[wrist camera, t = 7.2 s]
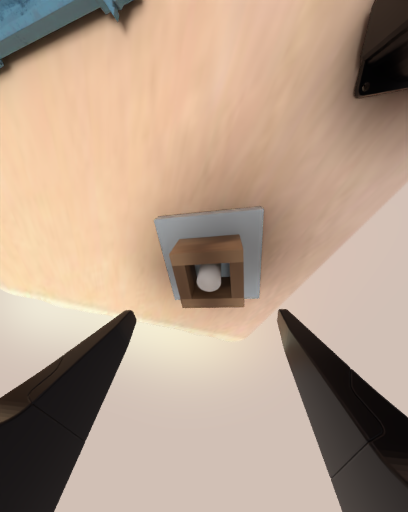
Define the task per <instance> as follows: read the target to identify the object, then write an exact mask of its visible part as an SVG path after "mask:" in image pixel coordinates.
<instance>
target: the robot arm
mask: <svg viewBox="0 0 408 512" xmlns="http://www.w3.org/2000/svg"><path fill="white" fill-rule="evenodd" d="M361 60H362V62H361V66H360V70H359V75H358V79H357V83H356V88H355V96H356V97H357V98H362V97H367V96H373V95H378V94H384V93H389V92H395V91H400V90H405V89H408V0H376V1H375V3H374V4H373V6H372V10H371V14H370V19H369V23H368V28H367V32H366V36H365V41H364V45H363V49H362V54H361ZM363 85H365V86H366V89H365V91H363V90H362V87H363ZM277 322H278V327H279V330H280V334H281V338H282V343H283V346H284V350H285V354H286V356H287V359H288V362H289V365H290V368H291V371H292V373H293V376H294V379H295V382H296V384H297V387H298V390H299V393H300V395H301V398H302V401H303V404H304V407H305V409H306V412H307V414H308V417H309V420H310V423H311V426H312V428H313V431H314V434H315V437H316V439H317V442H318V445H319V448H320V451H321V453H322V456H323V459H324V462H325V464H326V467H327V470H328V472H329V476H330V478H331V481H332V484H333V486H334V489H335V492H336V495H337V498H338V500H339V503H340V506H341V509H342V512H408V417H407V416H406V415H404V414H403V413H402V412H401V411H399V410H398V409H397V408H396V407H395V406H393V405H392V404H391V403H390V402H389V401H388V400H386V399H385V398H384V397H383V396H382V395H380V394H379V393H378V392H377V391H376V390H375V389H373V388H372V387H371V386H370V385H369V384H368V383H367V382H366V381H364V380H363V379H362V378H361V377H360V376H359V375H358V374H357V373H356V372H354V371H353V370H352V369H350V367H349V366H348V365H347V364H346V363H345V362H344V361H343V360H341V359H340V358H339V357H338V356H337V355H336V354H335V353H334V352H333V351H332V350H331V349H329V348H328V347H327V346H326V345H325V344H324V343H323V342H322V341H321V340H320V339H319V338H317V337H316V336H315V335H314V334H313V333H312V332H311V331H310V330H309V329H308V328H306V326H304V325H303V324H302V323H301V322H300V321H299V320H298V319H297V318H296V317H295V316H294V315H293V314H291V313H290V312H289V311H288V310H286V309H279V311H278V318H277ZM135 324H136V317H135V315H134V313H133V311H132V310H126V311H124V312H123V313H121V314H120V315H118V316H117V317H116V318H114V319H113V320H111V321H110V322H109V323H107V324H106V325H105V326H103V327H102V328H100V329H99V330H98V331H96V332H95V333H94V334H92V335H91V336H90V337H88V338H87V339H85V340H84V341H82V342H81V343H80V344H78V345H77V346H76V347H74V348H73V349H71V350H70V351H68V352H67V353H66V354H65V355H63V356H62V357H60V358H59V359H57V360H56V361H55V362H53V363H52V364H51V365H49V366H47V367H46V368H45V369H43V370H42V371H40V372H39V373H37V374H36V375H35V376H33V377H31V378H30V379H28V380H27V381H25V382H24V383H23V384H21V385H19V386H18V387H16V388H15V389H13V390H12V391H10V392H8V393H7V394H5V395H4V396H3V397H1V398H0V512H54V510H55V508H56V506H57V504H58V502H59V499H60V497H61V495H62V493H63V490H64V488H65V486H66V484H67V481H68V479H69V477H70V475H71V472H72V470H73V468H74V466H75V464H76V461H77V459H78V457H79V455H80V452H81V450H82V448H83V446H84V444H85V440H86V439H87V437H88V434H89V432H90V430H91V427H92V425H93V423H94V421H95V419H96V417H97V414H98V412H99V410H100V407H101V405H102V403H103V401H104V399H105V396H106V394H107V392H108V390H109V388H110V385H111V383H112V381H113V379H114V376H115V374H116V372H117V370H118V367H119V365H120V363H121V361H122V359H123V356H124V354H125V352H126V349H127V347H128V345H129V342H130V339H131V336H132V333H133V330H134V327H135Z"/></svg>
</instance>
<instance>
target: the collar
mask: <svg viewBox="0 0 408 512" xmlns="http://www.w3.org/2000/svg"><path fill="white" fill-rule="evenodd" d="M169 257H170V261H171V265H172V269H173V272H174V276H175V280H176V284H177V288H178V292H179V296H180V300H181V304H182V307H183V308H216V307H244V257H243V246H242V242H241V239H240V235H239V234H236V235H224V236H212V237H200V238H187V239H179V240H178V242H177V243H176V245H175V246H174V248H173V249H172V251H171V252H170V254H169ZM218 263H229V265H230V277H221V285H220V287H219V288H218V289H217V290H215V291H212V292H207V291H204V290H202V289H200V288H199V286H198V285H197V275H196V270H195V265H200V264H218Z"/></svg>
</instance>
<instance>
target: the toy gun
mask: <svg viewBox="0 0 408 512" xmlns="http://www.w3.org/2000/svg"><path fill="white" fill-rule="evenodd" d="M131 1H133V0H0V68H1V67H3V66H4V64H3V62H2V58H4V57H6V56H7V55H9V54H11V53H13V52H15V51H17V50H19V49H21V48H23V47H25V46H27V45H29V44H31V43H32V42H34V41H36V40H38V39H40V38H42V37H44V36H46V35H48V34H50V33H52V32H54V31H56V30H58V29H59V28H61V27H63V26H65V25H67V24H69V23H71V22H73V21H75V20H77V19H79V18H81V17H83V16H84V15H86V14H88V13H90V12H92V11H94V10H96V9H98V8H101V9H102V10H103V12H104V13H105V14H108V13H110V12H111V13H112V14H113V16H114V18H115V19H116V20H117V22H118V20H119V13H118V10H122V8H123V6H124V5H125V4H127V3H129V2H131Z"/></svg>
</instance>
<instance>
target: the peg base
mask: <svg viewBox="0 0 408 512" xmlns="http://www.w3.org/2000/svg"><path fill="white" fill-rule="evenodd" d="M263 216H264V209H263V208H262V207H261V206H259V207H249V208H239V209H229V210H219V211H209V212H199V213H189V214H179V215H169V216H159V217H157V218H155V219H154V223H155V226H156V230H157V234H158V238H159V241H160V245H161V249H162V253H163V256H164V260H165V264H166V268H167V271H168V275H169V279H170V282H171V286H172V290H173V294H174V297H175V300H180V296H179V292H178V288H177V284H176V280H175V276H174V272H173V269H172V265H171V261H170V257H169V254H170V252H171V251H172V249H173V248H174V246H175V245H176V243H177V242H178V240H179V239H187V238H200V237H212V236H224V235H236V234H239V235H240V239H241V242H242V246H243V257H244V299H255V298H259V293H260V274H261V255H262V235H263ZM195 270H196V275H197V285H198V286H199V288H200V289H202V290H204V291H207V292H212V291H215V290H217V289H218V288H219V287H220V285H221V277H230V265H229V263H218V264H200V265H195Z"/></svg>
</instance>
